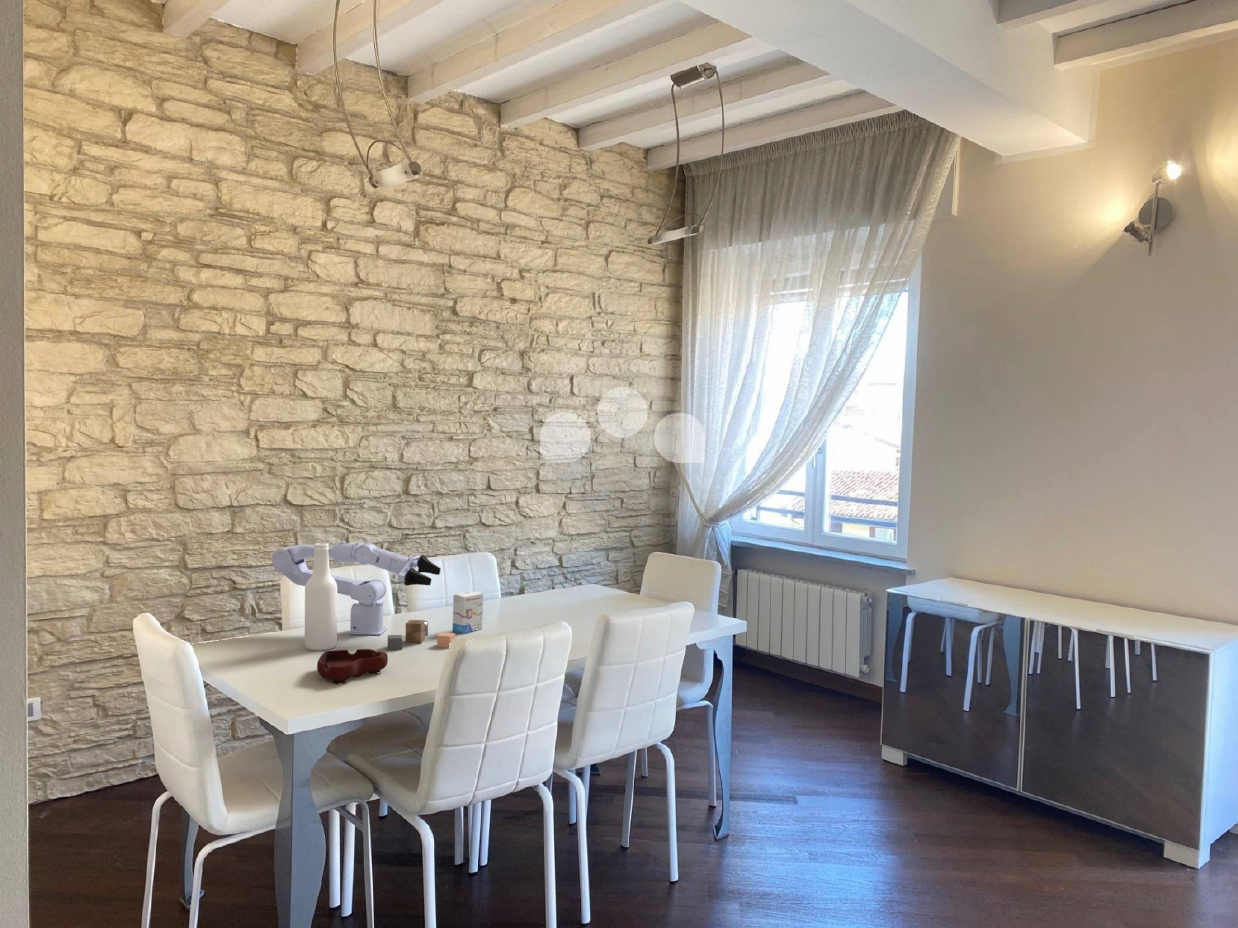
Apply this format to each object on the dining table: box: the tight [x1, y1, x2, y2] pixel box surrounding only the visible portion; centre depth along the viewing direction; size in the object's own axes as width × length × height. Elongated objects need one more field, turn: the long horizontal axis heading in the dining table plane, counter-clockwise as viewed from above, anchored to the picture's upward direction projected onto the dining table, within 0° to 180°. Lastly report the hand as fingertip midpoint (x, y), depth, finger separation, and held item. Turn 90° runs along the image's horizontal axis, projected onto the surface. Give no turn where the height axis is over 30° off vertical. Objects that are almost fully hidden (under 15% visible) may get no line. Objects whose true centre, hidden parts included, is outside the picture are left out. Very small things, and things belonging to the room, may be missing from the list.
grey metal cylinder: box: [425, 620, 429, 637], centre depth 272 cm, size 4×4×4 cm
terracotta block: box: [436, 631, 456, 649], centre depth 260 cm, size 4×4×4 cm
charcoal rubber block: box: [387, 634, 403, 651], centre depth 256 cm, size 4×4×4 cm
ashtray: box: [316, 648, 389, 685], centre depth 230 cm, size 18×16×5 cm
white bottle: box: [304, 542, 338, 652], centre depth 254 cm, size 9×9×30 cm
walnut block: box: [405, 619, 426, 645], centre depth 264 cm, size 5×5×6 cm
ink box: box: [452, 590, 484, 634], centre depth 278 cm, size 9×5×12 cm, turn 143°
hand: (435, 576), depth 271 cm, fingers open, 7 cm apart
